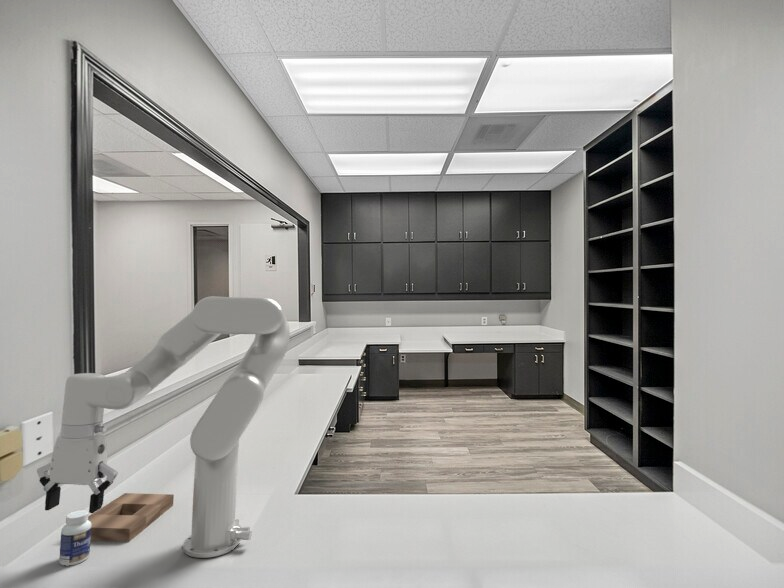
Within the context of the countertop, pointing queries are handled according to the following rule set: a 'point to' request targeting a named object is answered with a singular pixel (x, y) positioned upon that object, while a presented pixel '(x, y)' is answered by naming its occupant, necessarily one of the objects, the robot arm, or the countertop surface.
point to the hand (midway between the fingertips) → (73, 509)
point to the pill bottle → (75, 538)
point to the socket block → (128, 516)
